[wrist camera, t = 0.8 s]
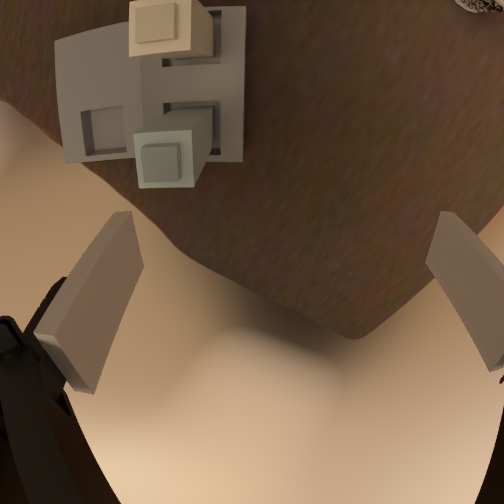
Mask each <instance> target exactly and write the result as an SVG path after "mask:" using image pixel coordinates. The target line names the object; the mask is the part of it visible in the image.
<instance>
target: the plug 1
mask: <svg viewBox="0 0 504 504" xmlns="http://www.w3.org/2000/svg"><path fill="white" fill-rule="evenodd" d="M215 37H216V21H215V20H214V19H213V17H212V16H211V15H210V14H209V13H208V11H207V10H206V9H205V8H204V7H203V6H202V4H201V3H200V2H199V1H198V0H138V1H133V2H130V6H129V57H144V58H165V59H187V58H204V57H215Z"/></svg>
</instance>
